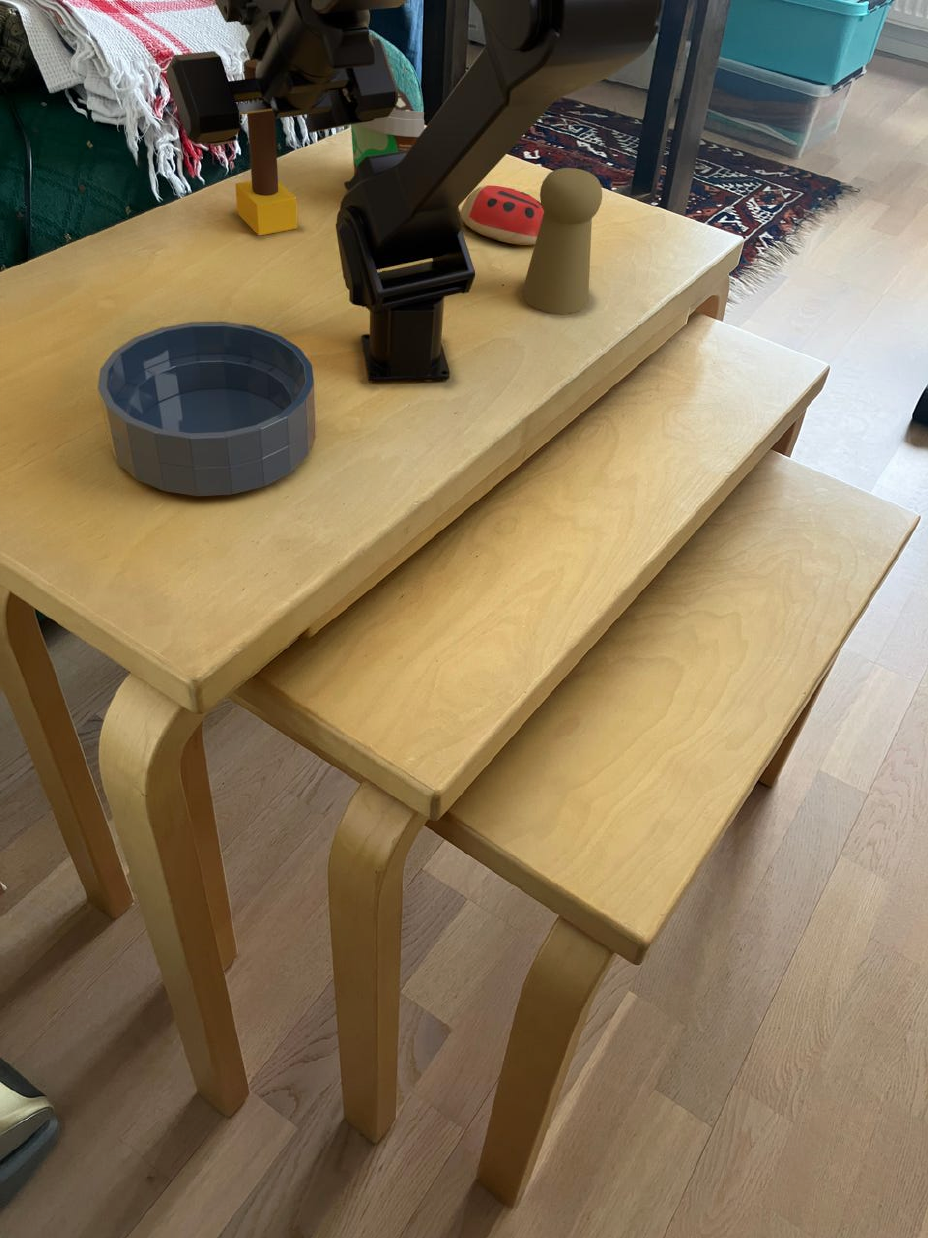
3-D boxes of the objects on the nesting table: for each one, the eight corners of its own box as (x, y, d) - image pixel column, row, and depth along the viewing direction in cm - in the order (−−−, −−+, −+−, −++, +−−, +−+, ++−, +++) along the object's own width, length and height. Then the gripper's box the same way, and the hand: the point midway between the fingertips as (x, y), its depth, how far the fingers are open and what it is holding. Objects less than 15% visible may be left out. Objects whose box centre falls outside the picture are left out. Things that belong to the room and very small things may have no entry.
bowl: (322, 500, 70) (320, 433, 66) (105, 510, 67) (90, 441, 63) (308, 383, 79) (306, 319, 75) (118, 388, 77) (105, 322, 73)
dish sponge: (297, 228, 97) (291, 70, 87) (258, 235, 96) (247, 75, 86) (275, 206, 100) (267, 51, 90) (237, 213, 98) (224, 55, 88)
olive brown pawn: (510, 300, 91) (525, 176, 83) (538, 273, 95) (556, 152, 87) (572, 321, 89) (594, 196, 81) (598, 293, 93) (621, 171, 85)
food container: (332, 170, 107) (330, 67, 100) (388, 167, 109) (391, 66, 101) (359, 223, 99) (359, 115, 92) (420, 219, 101) (425, 113, 93)
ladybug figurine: (479, 205, 104) (482, 170, 101) (565, 233, 101) (571, 198, 99) (446, 228, 100) (448, 192, 97) (535, 258, 97) (540, 222, 94)
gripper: (386, -75, 81) (326, 34, 95) (157, -62, 73) (129, 54, 87) (430, 66, 82) (364, 153, 96) (210, 93, 74) (173, 183, 88)
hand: (261, 133), depth 92 cm, fingers open, 9 cm apart
